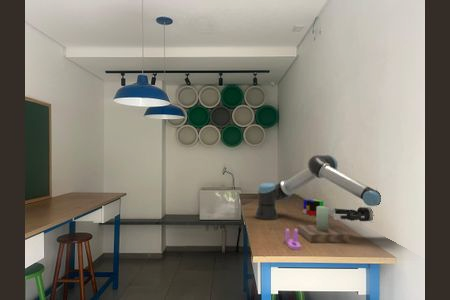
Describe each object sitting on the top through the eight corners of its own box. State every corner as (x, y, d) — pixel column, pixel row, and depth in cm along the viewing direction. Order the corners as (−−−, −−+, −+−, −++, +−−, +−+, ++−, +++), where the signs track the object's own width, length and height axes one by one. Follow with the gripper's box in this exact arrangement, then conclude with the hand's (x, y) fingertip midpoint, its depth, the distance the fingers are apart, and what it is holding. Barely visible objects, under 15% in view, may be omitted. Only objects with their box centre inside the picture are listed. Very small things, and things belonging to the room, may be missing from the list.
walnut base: (310, 242, 153) (310, 234, 153) (297, 232, 173) (298, 225, 173) (348, 242, 154) (348, 234, 154) (332, 232, 174) (332, 225, 174)
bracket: (285, 241, 154) (285, 227, 154) (296, 241, 154) (296, 228, 154) (290, 249, 141) (290, 234, 141) (302, 249, 141) (302, 234, 141)
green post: (318, 231, 160) (319, 208, 160) (314, 227, 166) (314, 206, 166) (329, 230, 161) (330, 208, 160) (325, 227, 167) (325, 206, 166)
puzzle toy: (303, 213, 229) (303, 199, 229) (313, 212, 233) (313, 199, 233) (312, 215, 220) (312, 202, 220) (323, 214, 224) (323, 201, 224)
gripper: (380, 226, 152) (338, 226, 150) (355, 216, 177) (319, 216, 175) (380, 211, 152) (339, 211, 151) (355, 203, 177) (320, 203, 175)
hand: (328, 214), depth 163 cm, fingers open, 13 cm apart
